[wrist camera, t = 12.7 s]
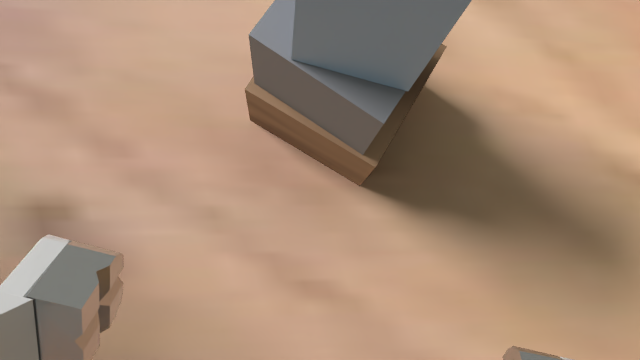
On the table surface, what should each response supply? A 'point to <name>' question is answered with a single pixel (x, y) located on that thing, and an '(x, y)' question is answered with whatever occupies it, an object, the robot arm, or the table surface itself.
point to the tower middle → (317, 83)
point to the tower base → (321, 142)
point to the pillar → (373, 36)
